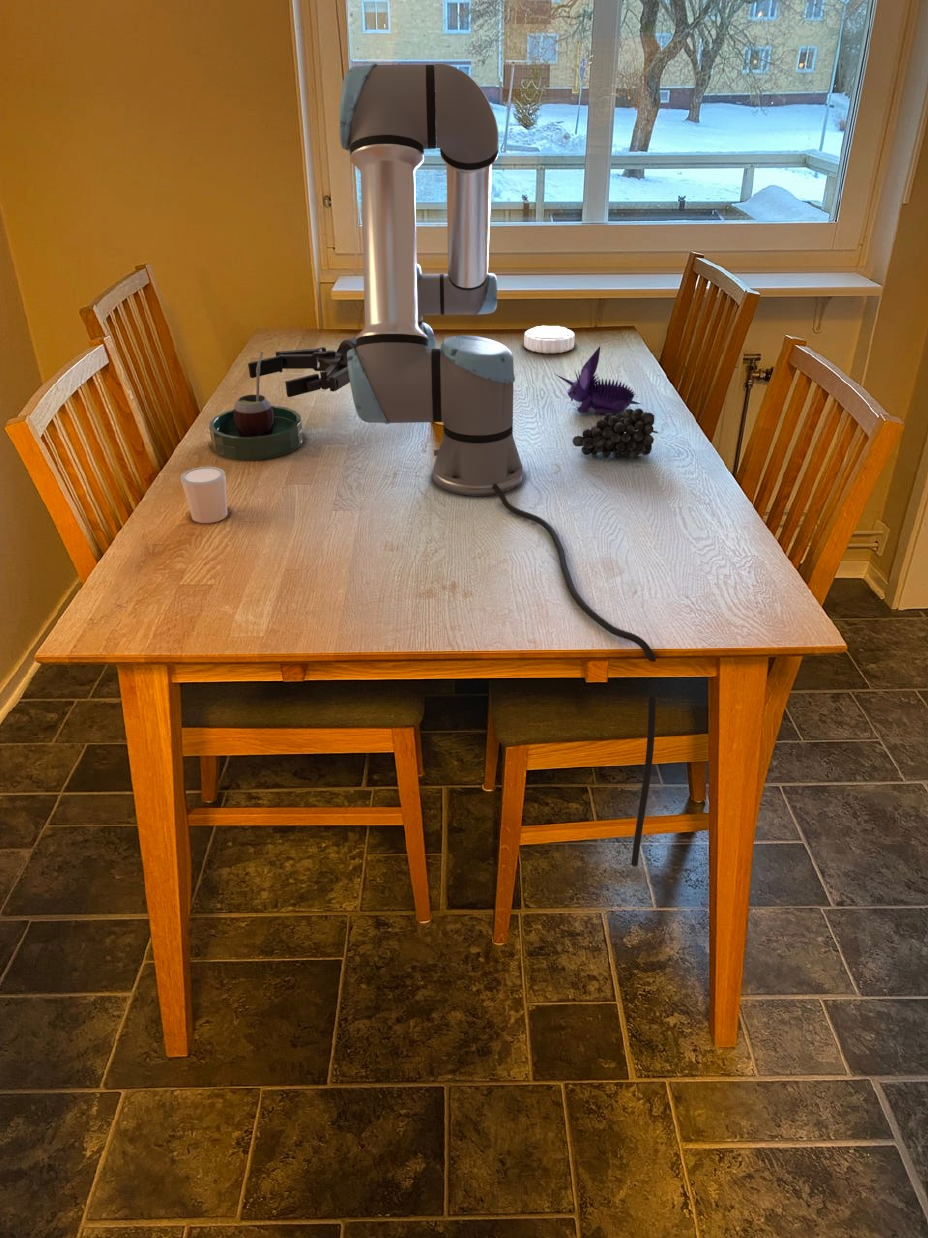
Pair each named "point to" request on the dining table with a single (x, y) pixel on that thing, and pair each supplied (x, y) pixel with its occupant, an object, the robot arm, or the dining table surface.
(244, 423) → the mate gourd
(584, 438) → the fruit
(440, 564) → the dining table surface
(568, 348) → the white lid
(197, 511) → the white cylinder
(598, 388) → the creature
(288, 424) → the green round tray
